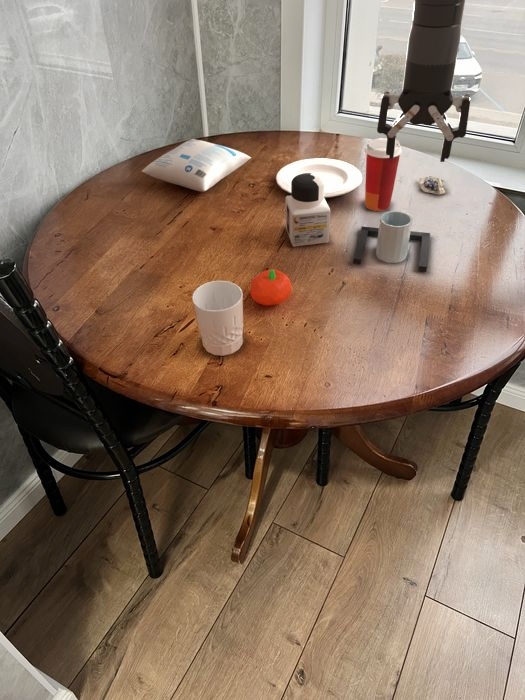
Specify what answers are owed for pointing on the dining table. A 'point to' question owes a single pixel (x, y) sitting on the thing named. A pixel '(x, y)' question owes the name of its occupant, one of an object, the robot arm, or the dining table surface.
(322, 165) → the plate
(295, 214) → the container
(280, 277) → the pumpkin
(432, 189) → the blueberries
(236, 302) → the white cup
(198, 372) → the dining table surface
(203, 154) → the pouch
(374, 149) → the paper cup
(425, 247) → the frame
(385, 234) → the pale grey cup
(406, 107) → the robot arm
